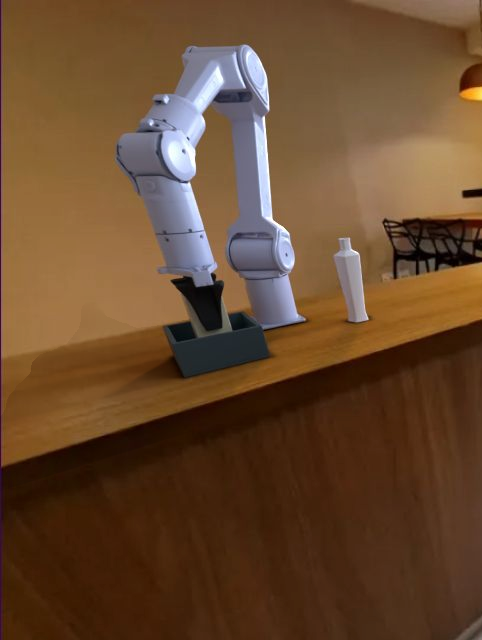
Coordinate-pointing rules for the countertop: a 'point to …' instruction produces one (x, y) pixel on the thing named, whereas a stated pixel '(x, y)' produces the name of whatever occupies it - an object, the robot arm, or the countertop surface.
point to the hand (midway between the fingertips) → (211, 326)
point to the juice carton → (199, 328)
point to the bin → (217, 345)
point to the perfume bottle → (351, 280)
